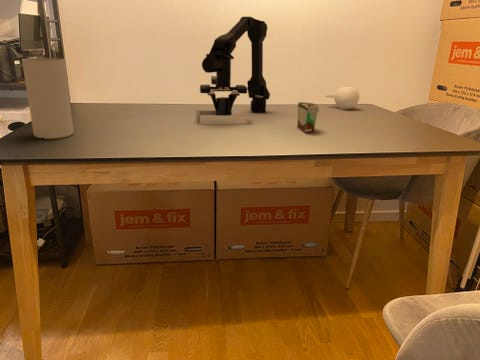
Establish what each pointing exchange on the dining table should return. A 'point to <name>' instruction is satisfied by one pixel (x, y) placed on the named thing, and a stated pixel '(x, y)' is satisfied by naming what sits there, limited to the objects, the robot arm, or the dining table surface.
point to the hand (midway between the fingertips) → (223, 110)
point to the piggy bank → (345, 97)
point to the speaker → (223, 105)
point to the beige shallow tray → (218, 118)
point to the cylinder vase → (48, 97)
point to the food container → (307, 117)
